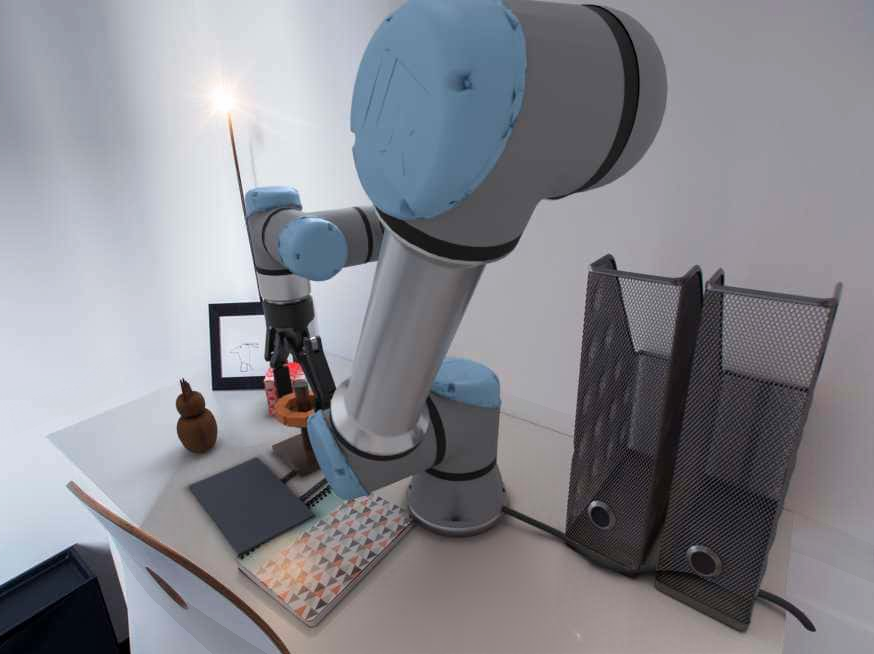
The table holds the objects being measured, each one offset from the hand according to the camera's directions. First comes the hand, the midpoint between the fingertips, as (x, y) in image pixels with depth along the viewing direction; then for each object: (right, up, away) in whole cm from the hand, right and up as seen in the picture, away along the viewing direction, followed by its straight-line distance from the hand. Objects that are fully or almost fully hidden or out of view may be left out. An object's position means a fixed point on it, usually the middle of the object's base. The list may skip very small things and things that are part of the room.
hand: (304, 415), depth 91 cm
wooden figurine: (-20, -6, +6) cm, 22 cm away
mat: (-7, -13, -8) cm, 17 cm away
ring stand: (0, -7, +4) cm, 8 cm away
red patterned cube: (-7, +1, +19) cm, 20 cm away
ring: (0, +1, -1) cm, 1 cm away
